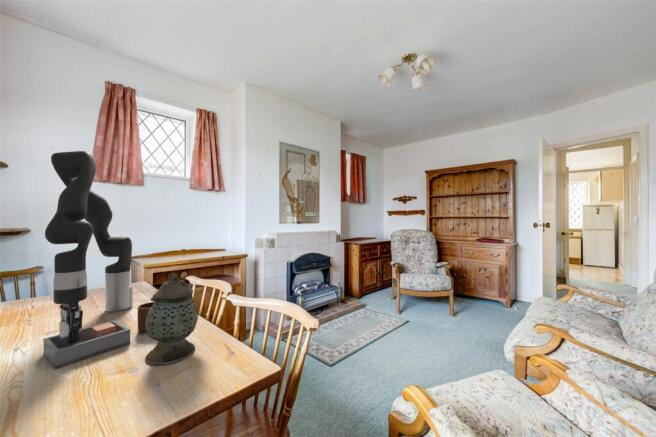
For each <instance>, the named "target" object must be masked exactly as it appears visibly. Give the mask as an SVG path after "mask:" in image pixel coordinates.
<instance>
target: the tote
mask: <svg viewBox="0 0 656 437" xmlns="http://www.w3.org/2000/svg"><path fill="white" fill-rule="evenodd" d="M106 323H112V324H114V325H116V333H112V334H109V335H105V336H102V337H99V338H95V339H92V327H95V326H99V325H103V324H106ZM42 341H43V347H42V348H43V356H44V357H45V359H46V360H47V361H48V362H49V364H50V365H51V367H52V368H53V369H54V370H57V369H60V368H64V367H66V366H70V365H73V364H75V363H78V362H82V361H84V360H87V359H91V358H93V357H96V356H99V355H102V354H104V353H107V352H111V351H114V350H116V349H120V348H123V347H126V346H128V345H131V329H130V328H129V327H128V326H125V325H123V324H122V323H120V322H118V321H117V320H114V319H113V320H110V321H107V322H106V321H105V322H103V323H99V324H94V325H91V326H86V327H82V342H80V343H78V344H75V345H71V346H68V347H60V342H59V334H57V335H53V336H49V337H46V338H43V340H42Z"/></svg>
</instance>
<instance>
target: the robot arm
mask: <svg viewBox="0 0 656 437" xmlns="http://www.w3.org/2000/svg"><path fill="white" fill-rule="evenodd" d="M50 163H51V165H52V167H53V169H54V171H55V173H56V174H57V176H58V177H59V180H61V181H62V183H63V184H64V186H65V188H64V189H63V190H62V191H61V193H60V195H59V196H58V201H57V208H56V212H55V214H54V216H53V217H52V219H51V220H50V221H49V222H48V224H47V226H46V228H45V232H44V238H45V239H46V240H47V242H49V243H50V244H51V245H70V244H73V245H74V244H77V246H76V247H75V248H73V249H70V250H66V251H61V252H58V253H56V254H55V255H54V259H53V261H54V265H53V266H54V272H53V273H54V276H53V280H52V281H53V282H52V283H53V284H52V286H53V287H52V288H53V289H52V290H53V292H52V293H53V294H52V295H53V303H54V304H56V305H59V311H60V322H61V321H64V320H65V324H67V325H68V332H69V344H73V343H76V342H78V341H79V329H81V328H82V329H83V314H84V311H83V310H82V306H81V305H80V302H82V301H85V300H86V299H87V298H88V275H87V265H86V264H87V251H88V247H89V245H90V242H91V240H92V237H93V236H94V239H95V242H96V245H97V248H98V249H99V251H100V253H101V254H102V255H103V257H106V258H117V257H118V259H117V261H116V262H114V263H112V264H108V265H106V266H105V268H104V270H105V271H104V273H105V274H104V278H105V282H104V285H105V286H104V287H105V288H104V289H105V291H104V292H105V293H104V294H105V299H104V300H105V311H106V312H107V313H109V312H110V313H111V312H114V313H115V312H120V311H123V310H127V309H130V308H133V299H134V298H133V296H134V295H133V286H131V282H132V281H131V279H132V278H131V266H132V256H133V255H132V252H133V242H132V240H131V238H130V237H129V236H111V235H110V233H109V231H108V229H109V226H110V224H111V222H112V219H113V211H112V208H111V206H110V205H109V202H108V200H106V198H104V197H103V196H101V195H100V194H99V193H97V192H95V191H94V190H92V189H91V188H92V185H93V183H94V179H95V177H96V172H97V164H96V161H95V158H94V156H93V155H92V154H91V153H90V152H88V151H86V150H75V151H60V152H55V153H53V154H51V156H50ZM69 320H70V321H69ZM75 323H77V326H73V324H75Z"/></svg>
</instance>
